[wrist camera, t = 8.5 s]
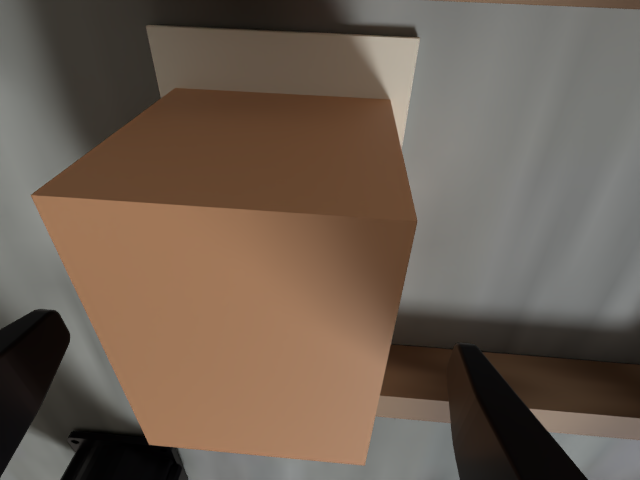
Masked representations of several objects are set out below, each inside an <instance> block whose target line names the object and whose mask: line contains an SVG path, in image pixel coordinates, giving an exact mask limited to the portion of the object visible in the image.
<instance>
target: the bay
mask: <svg viewBox="0 0 640 480" xmlns="http://www.w3.org/2000/svg"><path fill="white" fill-rule="evenodd" d="M432 1H456V2H480V3H503V4H527V5H551V6H574V7H598V8H622V9H640V0H432ZM146 30H147V35H148V40H149V44H150V49H151V54H152V59H153V63H154V68H155V73H156V78H157V82H158V87H159V92H160V97H161V98H162V97H163V96H165V95H166V94H168V93H169V92H170V91H172V90H173V89H174V88H186V89H205V90H223V91H242V92H260V93H279V94H298V95H316V96H335V97H353V98H372V99H390V100H391V105H392V109H393V114H394V118H395V123H396V127H397V132H398V136H399V141H400V145H401V150H402V144H403V138H404V132H405V126H406V120H407V114H408V108H409V102H410V95H411V89H412V83H413V77H414V71H415V65H416V59H417V53H418V47H419V41H420V38H419V37H402V36H381V35H359V34H338V33H316V32H295V31H273V30H252V29H230V28H209V27H187V26H166V25H147V26H146ZM452 350H453V349H440V348H428V347H416V346H404V345H391V346H390V351H389V355H388V360H387V364H386V369H385V374H384V378H383V383H382V388H381V392H380V397H379V402H378V406H377V411H376V415H375V416H378V417H389V418H400V419H411V420H422V421H433V422H444V423H451V421H450V410H449V399H448V389H447V378H446V368H447V364H448V361H449V358H450V356H451V353H452ZM482 353H483V354H484V355H485V356H486V358H487V359H488V360H489V361H490V362H491V364H492V365H493V366H494V367H495V368H496V370H497V371H498V372H499V373H500V374H501V376H502V377H503V378H504V379H505V380H506V382H507V383H508V384H509V385H510V386H511V388H512V389H513V390H514V391H515V393H516V394H517V395H518V396H519V397H520V399H521V400H522V401H523V402H524V403H525V405H526V406H527V407H528V408H529V409H530V411H531V412H532V413H533V414H534V415H535V417H536V418H537V419H538V420H539V421H540V423H541V424H542V425H543V426H544V427H545V429H546V430H547V431H548V432H555V433H566V434H577V435H588V436H599V437H611V438H622V439H633V440H640V365H636V364H624V363H612V362H599V361H587V360H575V359H563V358H550V357H538V356H526V355H514V354H502V353H489V352H482Z"/></svg>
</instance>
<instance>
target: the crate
mask: <svg viewBox="0 0 640 480" xmlns="http://www.w3.org/2000/svg"><path fill="white" fill-rule="evenodd" d="M31 197H32V199H33V201H34V203H35V205H36V207H37V209H38V212H39V214H40V216H41V218H42V220H43V222H44V224H45V226H46V228H47V231H48V233H49V235H50V237H51V239H52V241H53V243H54V245H55V247H56V249H57V252H58V254H59V256H60V258H61V260H62V262H63V264H64V266H65V268H66V271H67V273H68V275H69V277H70V279H71V281H72V283H73V285H74V287H75V289H76V292H77V294H78V296H79V298H80V300H81V302H82V304H83V306H84V308H85V311H86V313H87V315H88V317H89V319H90V321H91V323H92V325H93V327H94V329H95V332H96V334H97V336H98V338H99V340H100V342H101V344H102V346H103V348H104V351H105V353H106V355H107V357H108V359H109V361H110V363H111V365H112V367H113V370H114V372H115V374H116V376H117V378H118V380H119V382H120V384H121V386H122V388H123V391H124V393H125V395H126V397H127V399H128V401H129V403H130V405H131V407H132V410H133V412H134V414H135V416H136V418H137V420H138V422H139V424H140V426H141V428H142V431H143V433H144V435H145V437H146V439H147V441H148V443H149V445H156V446H166V447H177V448H187V449H197V450H208V451H218V452H229V453H239V454H250V455H260V456H271V457H281V458H291V459H302V460H312V461H323V462H333V463H344V464H354V465H364V466H365V462H366V457H367V453H368V448H369V443H370V439H371V434H372V429H373V425H374V420H375V415H376V411H377V406H378V402H379V397H380V392H381V388H382V383H383V378H384V374H385V369H386V364H387V360H388V355H389V351H390V346H391V341H392V337H393V332H394V327H395V323H396V318H397V313H398V309H399V304H400V299H401V295H402V290H403V286H404V281H405V276H406V272H407V267H408V262H409V258H410V253H411V248H412V244H413V239H414V235H415V230H416V225H417V217H416V213H415V208H414V204H413V199H412V195H411V190H410V186H409V181H408V177H407V172H406V168H405V163H404V159H403V154H402V150H401V145H400V141H399V136H398V132H397V127H396V123H395V118H394V114H393V109H392V105H391V100H390V99H372V98H353V97H335V96H316V95H298V94H279V93H260V92H242V91H223V90H205V89H186V88H174V89H173V90H172V91H170V92H169V93H168V94H166V95H165V96H163V97H162V98H161V99H159V100H158V101H157V102H155V103H154V104H153V105H151V106H150V107H149V108H147V109H146V110H145V111H143V112H142V113H141V114H139V115H138V116H137V117H135V118H134V119H133V120H131V121H130V122H128V123H127V124H126V125H124V126H123V127H122V128H120V129H119V130H118V131H116V132H115V133H114V134H112V135H111V136H110V137H108V138H107V139H106V140H104V141H103V142H102V143H100V144H99V145H97V146H96V147H95V148H93V149H92V150H91V151H89V152H88V153H87V154H85V155H84V156H83V157H81V158H80V159H79V160H77V161H76V162H75V163H73V164H72V165H71V166H69V167H68V168H66V169H65V170H64V171H62V172H61V173H60V174H58V175H57V176H56V177H54V178H53V179H52V180H50V181H49V182H48V183H46V184H45V185H44V186H42V187H41V188H40V189H38V190H37V191H35V192H34V193H33V194H31Z"/></svg>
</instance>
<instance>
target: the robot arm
mask: <svg viewBox="0 0 640 480" xmlns="http://www.w3.org/2000/svg"><path fill="white" fill-rule="evenodd" d="M69 342H70V333H69V331H68V329H67V327H66V325H65V323H64V321H63V319H62V318H61V316H60V314H59V313H58V312H57V311H55V310H47V309H37V310H34V311H32V312H30V313H29V314H27V315H25V316H23V317H22V318H20V319H18V320H16V321H15V322H13V323H11V324H9V325H8V326H6V327H4V328H2V329H1V330H0V477H1V475H2V474H3V472H4V470H5V468H6V467H7V465H8V463H9V461H10V460H11V458H12V456H13V454H14V453H15V451H16V449H17V447H18V446H19V444H20V442H21V440H22V439H23V437H24V435H25V433H26V432H27V430H28V428H29V426H30V425H31V423H32V421H33V419H34V418H35V416H36V414H37V412H38V410H39V408H40V407H41V405H42V402H43V400H44V398H45V396H46V394H47V392H48V390H49V387H50V385H51V383H52V381H53V378H54V376H55V374H56V372H57V370H58V367H59V365H60V363H61V361H62V358H63V356H64V354H65V352H66V349H67V347H68V345H69ZM446 378H447V389H448V399H449V410H450V421H451V431H452V440H453V447H454V453H455V458H456V463H457V468H458V473H459V477H460V480H588V479H587V478H586V477H585V476H584V474H583V473H582V472H581V471H580V470H579V468H578V467H577V466H576V465H575V464H574V462H573V461H572V460H571V459H570V458H569V456H568V455H567V454H566V453H565V452H564V450H563V449H562V448H561V447H560V445H559V444H558V443H557V442H556V441H555V439H554V438H553V437H552V436H551V435H550V433H549V432H548V431H547V430H546V429H545V427H544V426H543V425H542V424H541V423H540V421H539V420H538V419H537V418H536V417H535V415H534V414H533V413H532V412H531V411H530V409H529V408H528V407H527V406H526V405H525V403H524V402H523V401H522V400H521V399H520V397H519V396H518V395H517V394H516V393H515V391H514V390H513V389H512V388H511V386H510V385H509V384H508V383H507V382H506V380H505V379H504V378H503V377H502V376H501V374H500V373H499V372H498V371H497V370H496V368H495V367H494V366H493V365H492V364H491V362H490V361H489V360H488V359H487V358H486V356H485V355H484V354H483V353H482V352H481V350H480V349H479V348H478V347H477V346H476V345H474V344H467V343H457V344H455V345H454V347H453V350H452V353H451V356H450V358H449V361H448V364H447V368H446ZM67 442H68V443H69V444H70V446H71V447H72V448H73V450H74V451H75V455H74V456H73V458H72V460H71V462H70V463H69V465H68V467H67V469H66V471H65V472H64V474H63V476H62V478H61V479H60V480H188V478H187V476H186V473H185V471H184V468H183V466H182V463H181V460H180V458H179V455H178V453H177V450H176V448H175V447H166V446H156V445H149V443H148V441H147V439H146V438H142V437H131V436H121V435H110V434H100V433H89V432H79V431H73V432H71V433H70V435H69V437H68V438H67Z"/></svg>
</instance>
